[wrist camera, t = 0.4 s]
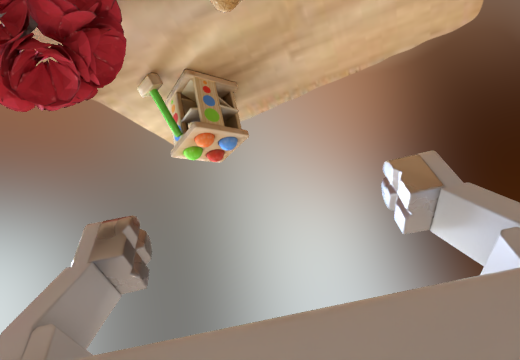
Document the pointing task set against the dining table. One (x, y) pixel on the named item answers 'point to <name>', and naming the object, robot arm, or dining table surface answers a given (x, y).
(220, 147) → the pounding bench toy
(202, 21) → the dining table surface
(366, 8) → the dining table surface
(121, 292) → the robot arm
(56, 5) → the bouquet
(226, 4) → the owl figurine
